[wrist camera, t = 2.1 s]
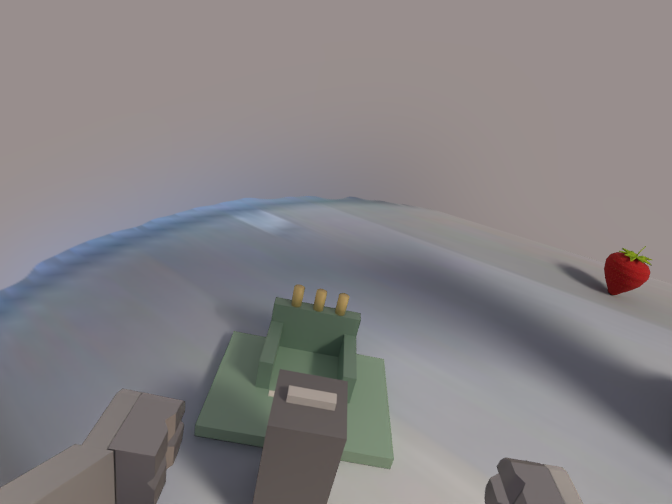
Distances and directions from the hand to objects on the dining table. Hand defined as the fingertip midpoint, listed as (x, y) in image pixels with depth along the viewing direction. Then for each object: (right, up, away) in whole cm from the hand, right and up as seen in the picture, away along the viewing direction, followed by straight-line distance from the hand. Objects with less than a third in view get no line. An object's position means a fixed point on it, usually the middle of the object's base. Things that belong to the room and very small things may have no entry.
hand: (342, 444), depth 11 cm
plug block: (-4, -13, +20) cm, 24 cm away
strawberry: (+49, -3, +65) cm, 81 cm away
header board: (-3, -9, +29) cm, 30 cm away
